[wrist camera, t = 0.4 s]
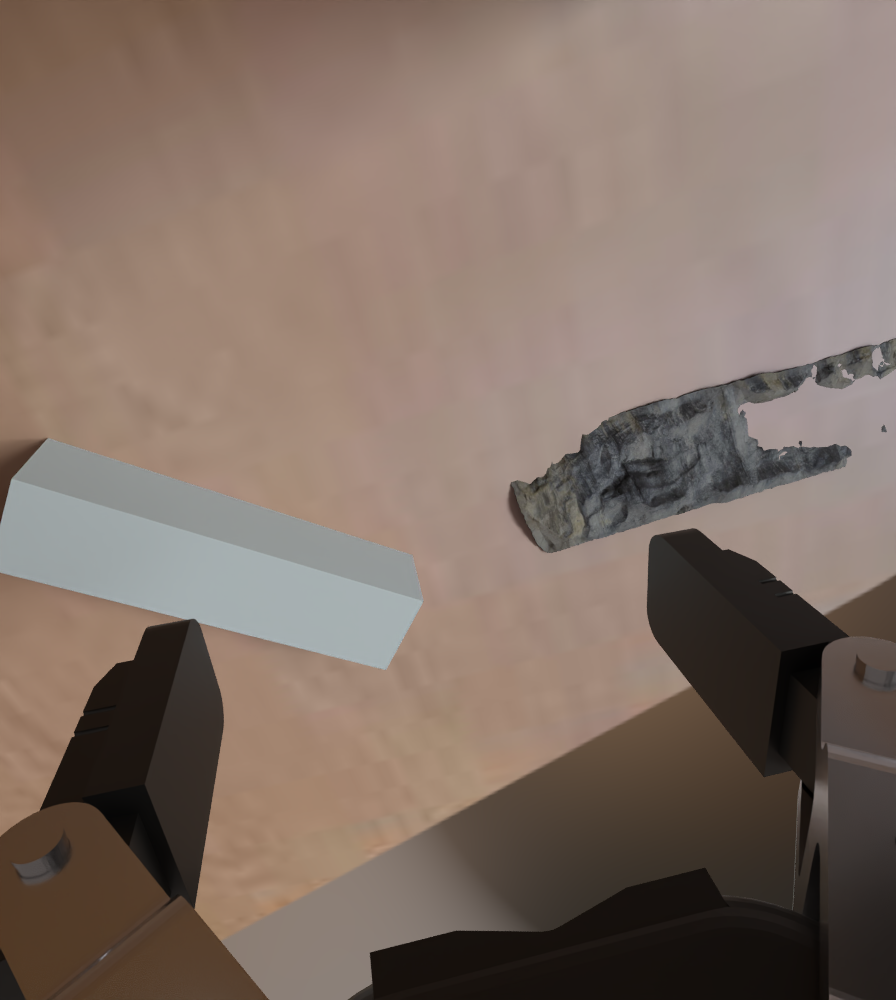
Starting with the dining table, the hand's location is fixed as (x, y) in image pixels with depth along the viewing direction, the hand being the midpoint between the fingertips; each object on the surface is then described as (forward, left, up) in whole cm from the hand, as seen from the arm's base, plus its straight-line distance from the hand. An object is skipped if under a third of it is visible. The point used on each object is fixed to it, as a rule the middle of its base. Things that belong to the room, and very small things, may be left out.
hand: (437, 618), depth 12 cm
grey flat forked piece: (-2, +18, -19) cm, 26 cm away
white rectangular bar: (+10, -2, -18) cm, 21 cm away
